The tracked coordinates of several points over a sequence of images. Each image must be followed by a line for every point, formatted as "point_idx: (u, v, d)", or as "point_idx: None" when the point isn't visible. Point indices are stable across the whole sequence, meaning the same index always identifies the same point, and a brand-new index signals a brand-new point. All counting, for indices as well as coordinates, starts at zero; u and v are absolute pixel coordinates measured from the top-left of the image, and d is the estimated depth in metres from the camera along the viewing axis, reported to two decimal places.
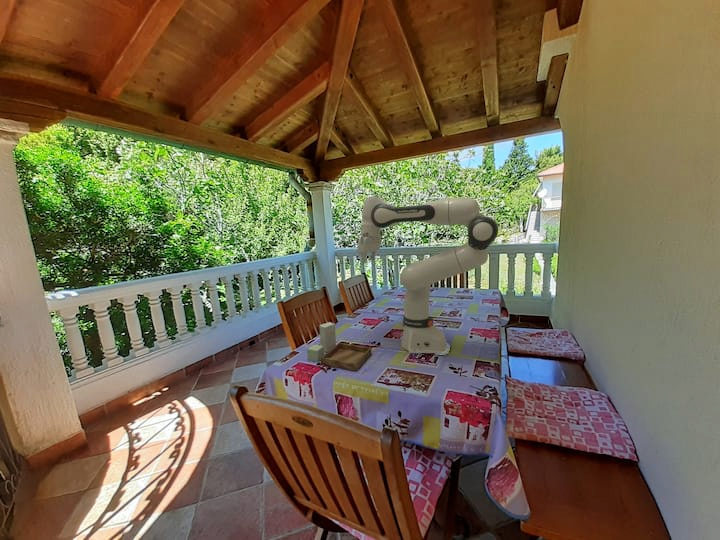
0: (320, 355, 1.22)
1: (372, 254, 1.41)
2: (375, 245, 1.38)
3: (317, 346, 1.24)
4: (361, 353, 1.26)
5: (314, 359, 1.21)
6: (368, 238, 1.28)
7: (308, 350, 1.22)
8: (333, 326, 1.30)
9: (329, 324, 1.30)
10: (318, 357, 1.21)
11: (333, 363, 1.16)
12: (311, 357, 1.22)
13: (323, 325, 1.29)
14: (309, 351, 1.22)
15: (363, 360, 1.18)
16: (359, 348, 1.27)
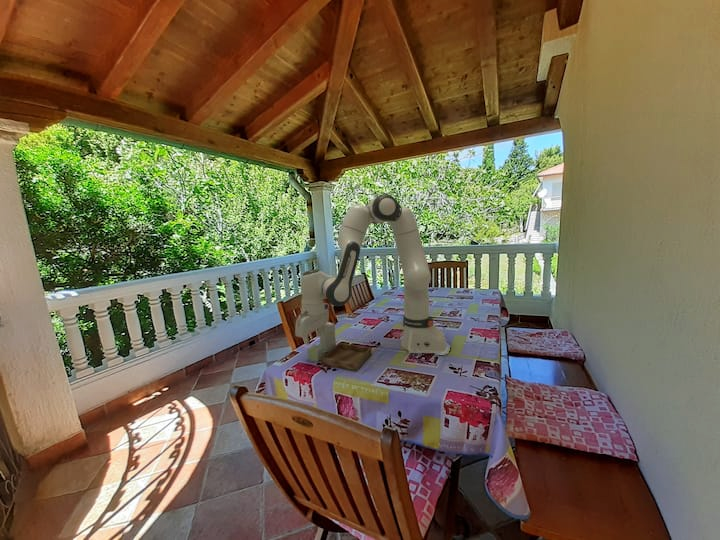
0: (320, 355, 1.22)
1: (319, 329, 1.27)
2: (320, 320, 1.24)
3: (317, 346, 1.24)
4: (361, 353, 1.26)
5: (314, 359, 1.21)
6: (307, 319, 1.14)
7: (308, 350, 1.22)
8: (333, 326, 1.30)
9: (328, 324, 1.30)
10: (318, 357, 1.21)
11: (333, 363, 1.16)
12: (311, 357, 1.22)
13: None
14: (309, 351, 1.21)
15: (363, 360, 1.18)
16: (359, 348, 1.27)
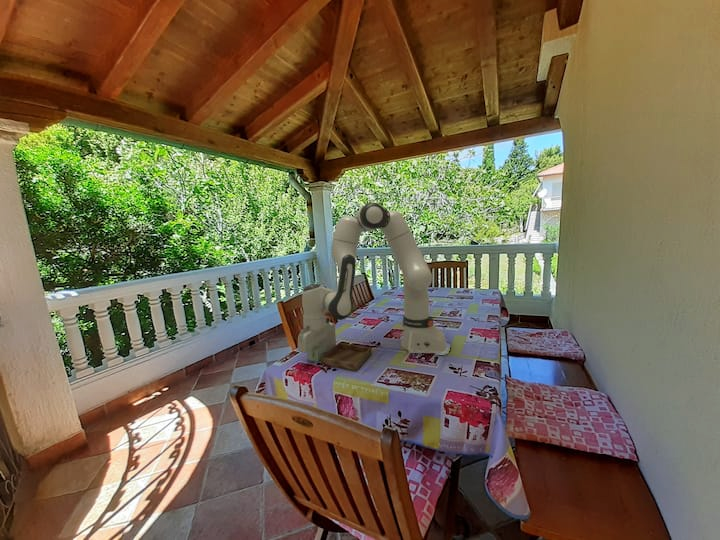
0: (320, 355, 1.22)
1: (319, 344, 1.27)
2: (322, 334, 1.25)
3: (317, 346, 1.24)
4: (361, 353, 1.26)
5: (314, 359, 1.21)
6: (309, 334, 1.15)
7: None
8: (333, 326, 1.30)
9: None
10: (318, 357, 1.21)
11: (333, 363, 1.16)
12: None
13: None
14: None
15: (363, 360, 1.18)
16: (359, 348, 1.27)
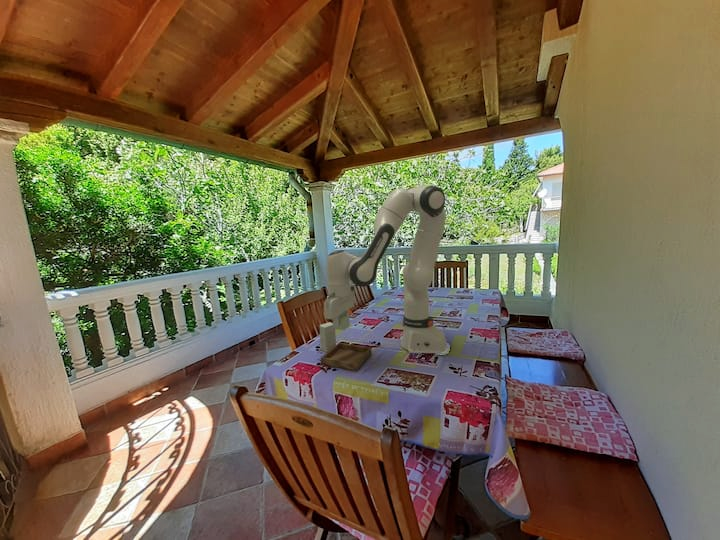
0: (346, 323, 1.19)
1: (344, 313, 1.23)
2: (347, 302, 1.21)
3: (342, 314, 1.21)
4: (361, 353, 1.26)
5: (340, 327, 1.18)
6: (335, 300, 1.12)
7: None
8: None
9: (329, 324, 1.30)
10: (344, 325, 1.18)
11: (333, 363, 1.16)
12: (336, 326, 1.18)
13: (323, 325, 1.29)
14: None
15: (363, 360, 1.18)
16: (359, 348, 1.27)
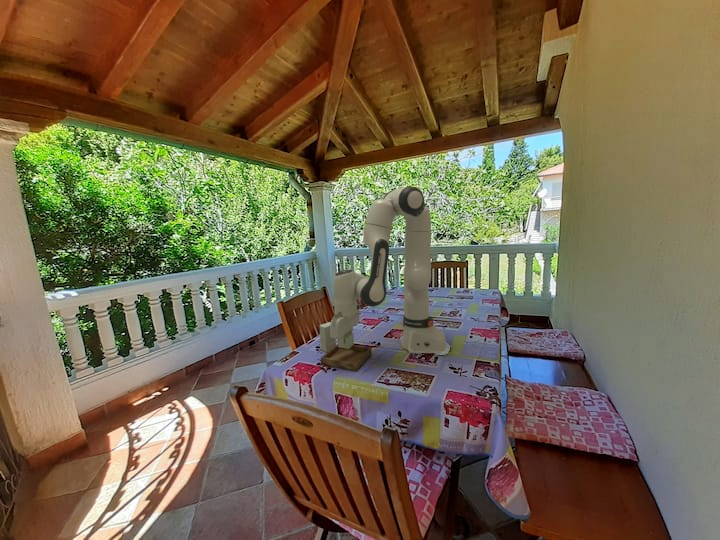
0: (350, 342, 1.19)
1: (349, 331, 1.24)
2: (352, 321, 1.22)
3: (347, 333, 1.21)
4: (361, 353, 1.26)
5: (345, 346, 1.18)
6: (341, 319, 1.12)
7: None
8: None
9: (329, 324, 1.30)
10: (349, 344, 1.18)
11: (333, 363, 1.16)
12: (341, 344, 1.19)
13: (323, 325, 1.29)
14: None
15: (363, 360, 1.18)
16: (359, 348, 1.27)
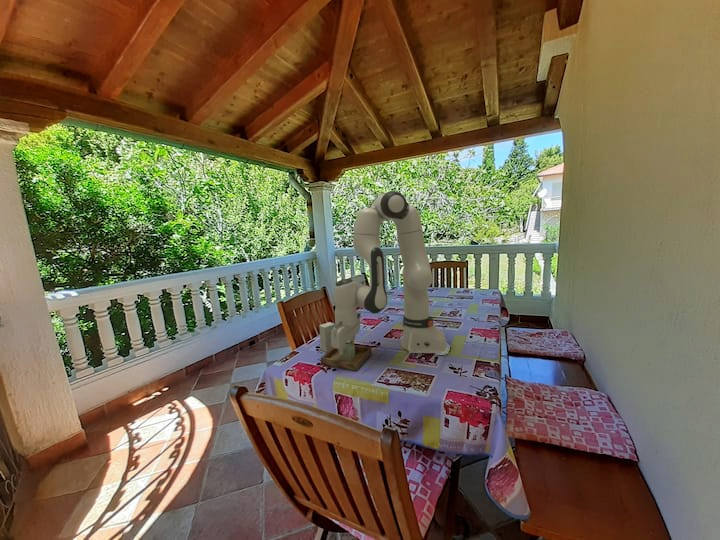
0: (352, 354, 1.20)
1: (351, 339, 1.26)
2: (353, 330, 1.23)
3: (348, 345, 1.23)
4: (361, 353, 1.26)
5: (346, 358, 1.19)
6: (342, 329, 1.13)
7: None
8: (333, 326, 1.30)
9: (329, 324, 1.30)
10: (350, 356, 1.19)
11: (333, 363, 1.16)
12: (342, 357, 1.20)
13: (323, 325, 1.29)
14: None
15: (363, 360, 1.18)
16: (359, 348, 1.27)
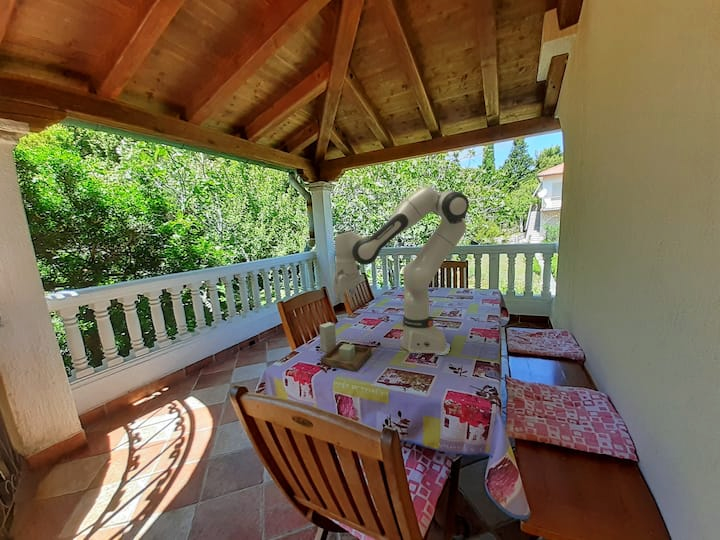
0: (352, 354, 1.20)
1: (352, 290, 1.32)
2: (353, 280, 1.29)
3: (348, 345, 1.23)
4: (361, 353, 1.26)
5: (346, 358, 1.19)
6: (343, 276, 1.19)
7: (340, 349, 1.20)
8: (333, 326, 1.30)
9: (329, 324, 1.30)
10: (350, 356, 1.19)
11: (333, 363, 1.16)
12: (342, 357, 1.20)
13: (323, 325, 1.29)
14: (341, 350, 1.20)
15: (363, 360, 1.18)
16: (359, 348, 1.27)
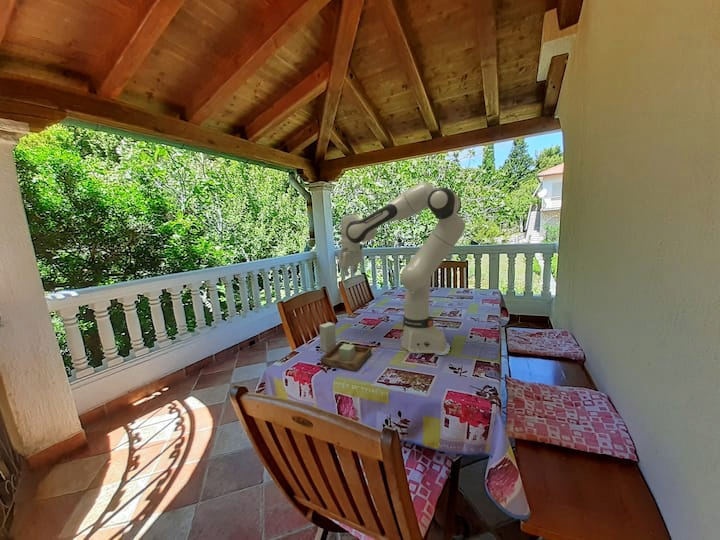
0: (352, 354, 1.20)
1: (354, 267, 1.52)
2: (356, 258, 1.49)
3: (348, 345, 1.23)
4: (361, 353, 1.26)
5: (346, 358, 1.19)
6: (348, 253, 1.39)
7: (340, 349, 1.20)
8: (333, 326, 1.30)
9: (329, 324, 1.30)
10: (350, 356, 1.19)
11: (333, 363, 1.16)
12: (342, 357, 1.20)
13: (323, 325, 1.29)
14: (341, 350, 1.20)
15: (363, 360, 1.18)
16: (359, 348, 1.27)
